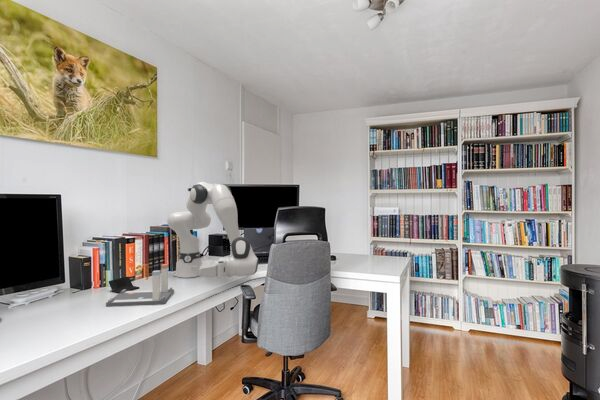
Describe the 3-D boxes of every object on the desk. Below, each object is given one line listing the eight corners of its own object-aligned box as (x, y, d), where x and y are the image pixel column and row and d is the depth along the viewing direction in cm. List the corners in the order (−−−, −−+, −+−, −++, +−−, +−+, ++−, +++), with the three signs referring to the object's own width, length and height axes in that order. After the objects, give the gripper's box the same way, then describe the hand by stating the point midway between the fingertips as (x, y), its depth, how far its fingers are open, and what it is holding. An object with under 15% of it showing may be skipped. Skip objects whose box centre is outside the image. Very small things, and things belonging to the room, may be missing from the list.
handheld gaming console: (123, 291, 156) (115, 273, 159) (113, 299, 157) (105, 281, 160) (141, 288, 167) (134, 272, 169) (132, 296, 168) (124, 279, 171)
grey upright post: (162, 289, 158) (162, 264, 158) (168, 289, 158) (168, 264, 158) (160, 291, 155) (160, 265, 155) (166, 291, 156) (167, 265, 156)
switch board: (122, 294, 155) (122, 289, 155) (174, 292, 159) (174, 287, 159) (105, 306, 138) (105, 300, 138) (164, 304, 141) (164, 298, 141)
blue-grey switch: (153, 298, 144) (154, 270, 144) (160, 298, 144) (160, 270, 144) (152, 300, 141) (152, 271, 141) (158, 300, 142) (159, 271, 142)
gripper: (224, 256, 157) (195, 257, 155) (221, 264, 137) (187, 265, 135) (224, 269, 157) (195, 270, 155) (220, 279, 137) (187, 280, 135)
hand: (191, 268), depth 145 cm, fingers closed
